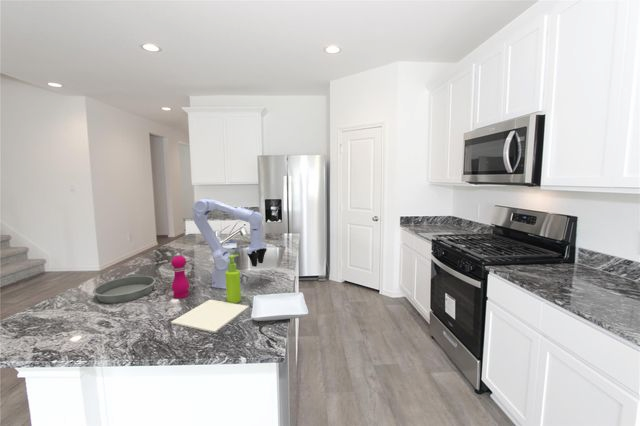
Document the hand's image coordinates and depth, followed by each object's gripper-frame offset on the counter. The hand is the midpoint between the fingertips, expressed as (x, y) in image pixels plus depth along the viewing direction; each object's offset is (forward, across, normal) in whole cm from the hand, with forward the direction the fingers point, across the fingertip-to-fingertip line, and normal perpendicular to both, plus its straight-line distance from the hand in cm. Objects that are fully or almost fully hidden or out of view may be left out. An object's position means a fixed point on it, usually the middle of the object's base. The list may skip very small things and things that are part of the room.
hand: (257, 264), depth 148 cm
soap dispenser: (+11, -19, 0) cm, 22 cm away
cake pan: (+11, -29, +53) cm, 61 cm away
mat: (+10, -34, 0) cm, 35 cm away
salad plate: (+11, -21, -23) cm, 33 cm away
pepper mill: (+11, -23, +26) cm, 36 cm away
